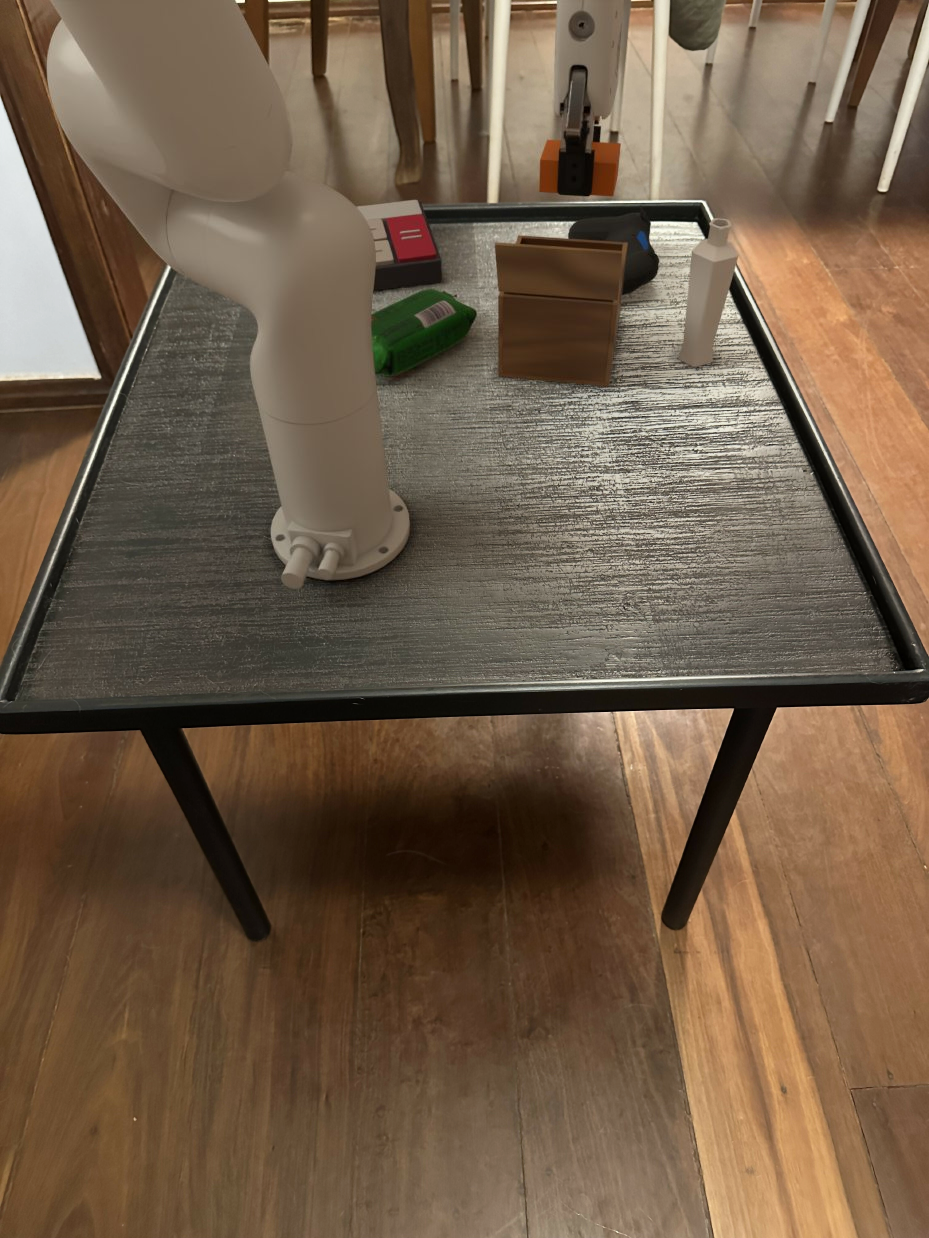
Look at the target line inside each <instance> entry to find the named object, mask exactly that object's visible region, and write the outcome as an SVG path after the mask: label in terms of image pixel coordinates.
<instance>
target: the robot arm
mask: <svg viewBox="0 0 929 1238" xmlns="http://www.w3.org/2000/svg"><path fill="white" fill-rule="evenodd" d="M49 1H50V3H51V5H52V6H53V8H54V9H55V11H56V12H57V14H58V15H59V17H60V20H59V22H58V23H57V25H56V27H55V28H54V31H53V33H52V35H51V39H50V42H49V45H48V50H47V55H46V56H47V57H46V79H47V87H48V92H49V96H50V100H51V105H52V107H53V110H54V112H55V115H56V117H57V120H58V122H59V125H60V127H61V129H62V131H63V132H64V134H65V136H66V138H67V140H68V141H69V143H70V144H71V145H72V147H73V149H74V150H75V152H76V153H77V154H78V156H79V157H80V159H81V160H82V161H83V162H84V164H85V166H87V167H88V169H89V170H90V172H91V173H92V174H93V175H94V177H95V178H96V180H97V181H98V182H99V184H100V185H101V186H102V187H103V189H105V191H106V192H107V194H109V196H110V197H111V198H112V200H113V201H114V203H115V204H116V205H117V207H119V209H120V210H121V212H122V213H123V214H124V215H125V217H126V218H127V219H128V220H129V221H130V223H131V224H132V226H133V227H134V228H135V229H136V231H137V232H138V233H139V235H140V236H141V238H143V240H144V241H145V242H146V243H147V245H149V247H150V248H151V249H152V250H153V252H155V254H157V256H158V257H159V258H160V259H161V260H162V261H163V262H164V263H166V265H167V266H169V267H170V269H172V270H173V271H175V272H176V273H178V274H180V275H181V276H182V277H184V278H187V279H188V280H190V281H191V282H194V283H195V284H198V285H200V286H202V287H203V288H206V289H209V290H210V291H212V292H215V293H217V294H219V295H222V296H223V297H226V298H228V299H229V300H231V301H232V302H233V303H236V304H238V305H239V306H242V307H244V308H246V309H247V310H248V311H249V312H250V313H252V315H253V316H254V319H255V321H256V324H257V335H256V338H255V340H254V344H253V346H252V348H251V352H250V357H249V371H250V378H251V385H252V388H253V393H254V397H255V401H256V404H257V408H258V412H259V413H258V414H259V417H260V421H261V425H262V429H263V433H264V438H265V442H266V446H267V451H268V456H269V458H270V459H269V460H270V463H271V467H272V472H273V476H274V480H275V484H276V489H277V492H278V497H279V502H280V505H281V506H280V507H279V508H278V509H277V510H276V511H275V514H274V517H273V518H272V520H271V525H270V540H271V544H272V546H273V550H274V552H275V554H276V556H277V557H278V559H279V560H280V561H281V562H282V563H283V564H284V565H285V567H284V569H283V572H282V574H281V575H280V580H281V581H280V582H281V583H282V584H283V585H284V586H285V587H287V588H289V589H292V590H299V589H301V588H302V587H303V586H304V583H305V581H306V579H307V577H308V578H312V579H316V580H324V581H339V580H343V581H344V580H349V579H350V580H351V579H354V578H355V579H356V578H359V577H362V576H366V575H368V574H371V573H374V572H376V571H378V570H380V569H381V568H383V567H385V566H386V565H388V564H389V563H390V562H392V561H394V559H395V558H396V557H397V556H398V555H399V554H400V553H401V552H402V551H403V549H404V548H405V546H406V544H407V543H408V539H409V537H410V531H411V522H410V513H409V510H408V508H407V505H406V503H405V502H404V501H403V499H402V498H401V497H400V496H399V495H398V494H397V493H396V492H395V491H394V490H392V489H390V488H389V480H388V479H389V478H388V471H387V461H386V454H385V445H384V437H383V428H382V419H381V412H380V410H381V409H380V403H379V401H380V400H379V393H378V392H379V391H378V386H377V385H378V384H377V378H376V374H375V368H374V359H373V348H372V330H371V314H373V313H372V311H373V296H374V291H373V289H374V279H375V268H376V249H375V242H374V238H373V234H372V232H371V229H370V227H369V225H368V223H367V221H366V219H365V218H364V216H363V215H362V213H361V212H360V211H359V210H358V208H357V207H358V206H356V205H355V204H354V203H353V202H352V201H351V200H349V199H348V198H347V197H346V196H345V195H343V194H342V193H341V192H339V191H337V190H335V189H334V188H332V187H330V186H328V185H326V184H324V183H323V182H320V181H318V180H316V179H312V178H310V177H307V176H304V175H302V174H299V173H297V172H294V171H291V170H288V166H289V164H290V162H291V157H292V152H293V131H292V130H293V129H292V124H291V118H290V114H289V110H288V107H287V104H286V101H285V100H284V97H283V93H282V91H281V89H280V86H279V84H278V82H277V80H276V77H275V76H274V74H273V71H272V70H271V67H270V65H269V64H268V62H267V60H266V58H265V55H264V54H263V52H262V50H261V47H260V46H259V44H258V42H257V40H256V38H255V36H254V34H253V32H252V30H251V28H250V26H249V24H248V22H247V20H246V18H245V17H244V15H243V12H242V10H241V8H240V6H239V5H238V3H237V0H49ZM624 3H625V0H556V13H555V33H554V34H555V36H554V37H555V38H554V41H555V42H554V61H553V62H554V66H553V74H554V75H553V111H554V113H555V115H556V116H557V117H559V118H562V122H561V135H560V136H561V137H560V140H561V148H560V149H559V160H558V182H557V192H558V193H557V194H558V195H560V196H570V197H571V196H572V197H590V196H592V195H591V192H592V184H593V170H594V156H595V150H592V142H601V135H602V125H600V120H606V119H608V117H609V116H610V115H611V113H612V110H613V106H614V103H615V99H616V95H617V91H618V90H617V89H618V85H619V74H620V58H621V57H620V56H621V44H622V43H621V42H622V32H623V20H624V19H623V17H624Z"/></svg>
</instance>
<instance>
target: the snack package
mask: <svg viewBox="0 0 929 1238" xmlns="http://www.w3.org/2000/svg"><path fill="white" fill-rule="evenodd" d="M456 298H458V295H457V294H455V295H452V294H450V293H448V292H447V291H445V290H443V291H440V290H437V289H436V288H435V289H434V288H426V289H423V290H419V291H418V292H415V293H413V294H410V295H409V296H407V297H405V298H403V299H400V300H398V301H396V302H394V303H392V304H389V305H387V306H385V307H384V308H381V309H379V310H377V311H375V312H373V313H371V330H372V348H373V359H374V368H375V375H383V376H386V377H397V376H400V375H402V374H404V373H406V372H408V371H410V370H411V369H413V368H415V367H417V366H419V365H420V364H422V363H424V362H425V361H428V360H430V359H432V358H434V357H436V356H438V355H440V354H441V353H443V352H445V351H446V350H448V349H450V348H451V347H453V346H455V345H457V344H459V342H461V341H462V340H464V339H465V338H466V336H467V335H468V334H469V332H470V330H471V328H472V325H473V324H474V322H475V320H476V319H477V316H478V312H477V310H476V309H475V308H473V307H472V306H469V305H467V304H464V303H462V302H460V301H458V300H457V299H456Z"/></svg>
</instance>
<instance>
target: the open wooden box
mask: <svg viewBox="0 0 929 1238" xmlns="http://www.w3.org/2000/svg"><path fill="white" fill-rule="evenodd" d="M515 244H527V245H541V246H556V247H571V248H585V249H600V250H615V251H622V261H621V272H620V283H619V293H618V301H616V300H603V299H590V298H577V297H564V296H550V295H537V294H524V293H511V292H499V293H498V296H497V316H498V317H497V318H498V319H497V323H498V324H497V376H498V377H500V378H510V379H511V378H512V379H520V380H521V379H522V380H533V381H544V382H554V383H564V384H565V383H566V384H577V385H589V386H599V387H600V386H601V387H610V384H611V376H612V370H613V364H614V357H615V350H616V345H617V338H618V332H619V326H620V318H621V310H622V300H623V295H622V292H623V283H624V274H625V265H626V256H627V247H628V243H626V242H624V243H623V242H611V241H596V240H581V239H568V238H566V237H565V238H564V237H552V236H551V237H550V236H535V235H520V234H518V235H517V237H516V241H515Z"/></svg>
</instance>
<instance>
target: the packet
mask: <svg viewBox="0 0 929 1238" xmlns="http://www.w3.org/2000/svg"><path fill="white" fill-rule="evenodd" d="M621 146H622V144H621V143H619V142H603V141H600V142H592V150H595V156H594V170H593V184H592V192H591V195H590V196H597V197H598V196H600V197H614V195H615V191H616V185H617V182H618V176H619V167H620V156H621ZM560 148H561V139H546V141H545V144H544V147H543V150H542V152H541V155H540V159H539V181H538V192H539V193H550V194H558V192H557V182H558V160H559V149H560Z"/></svg>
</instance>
